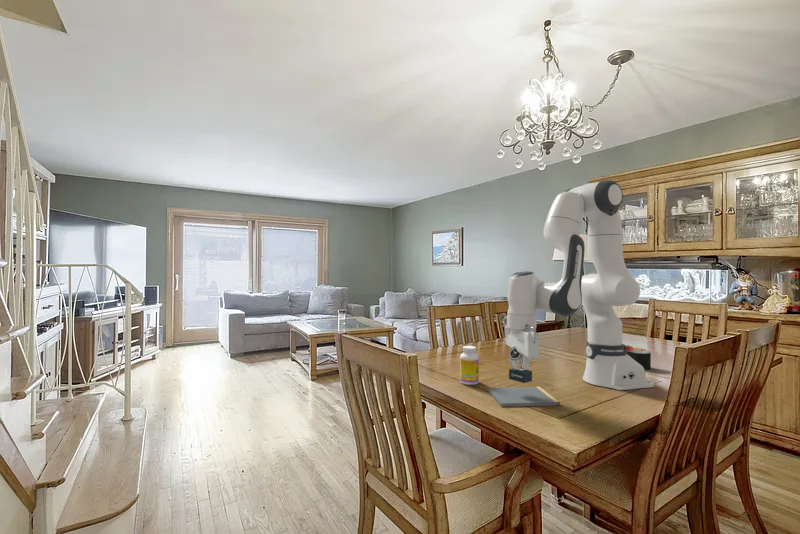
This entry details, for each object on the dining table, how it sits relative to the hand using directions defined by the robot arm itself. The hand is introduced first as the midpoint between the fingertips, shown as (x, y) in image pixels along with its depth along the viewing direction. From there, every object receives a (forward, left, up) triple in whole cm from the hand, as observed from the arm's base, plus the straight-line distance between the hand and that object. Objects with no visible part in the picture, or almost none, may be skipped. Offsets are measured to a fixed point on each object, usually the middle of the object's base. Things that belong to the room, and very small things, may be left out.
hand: (521, 365), depth 119 cm
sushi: (-61, -31, -10) cm, 69 cm away
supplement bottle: (+13, -16, -10) cm, 23 cm away
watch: (0, 0, -5) cm, 5 cm away
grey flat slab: (0, 0, -10) cm, 10 cm away
